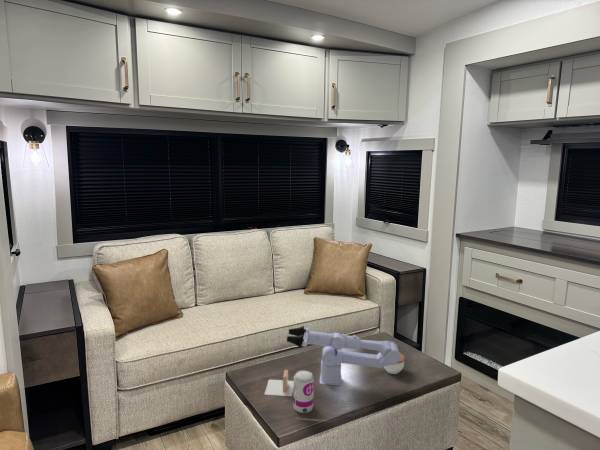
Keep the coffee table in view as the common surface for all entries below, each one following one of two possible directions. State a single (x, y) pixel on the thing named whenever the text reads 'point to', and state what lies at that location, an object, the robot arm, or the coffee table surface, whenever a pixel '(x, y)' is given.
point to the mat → (279, 388)
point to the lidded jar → (396, 366)
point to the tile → (285, 380)
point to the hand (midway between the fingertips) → (287, 335)
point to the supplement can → (303, 391)
